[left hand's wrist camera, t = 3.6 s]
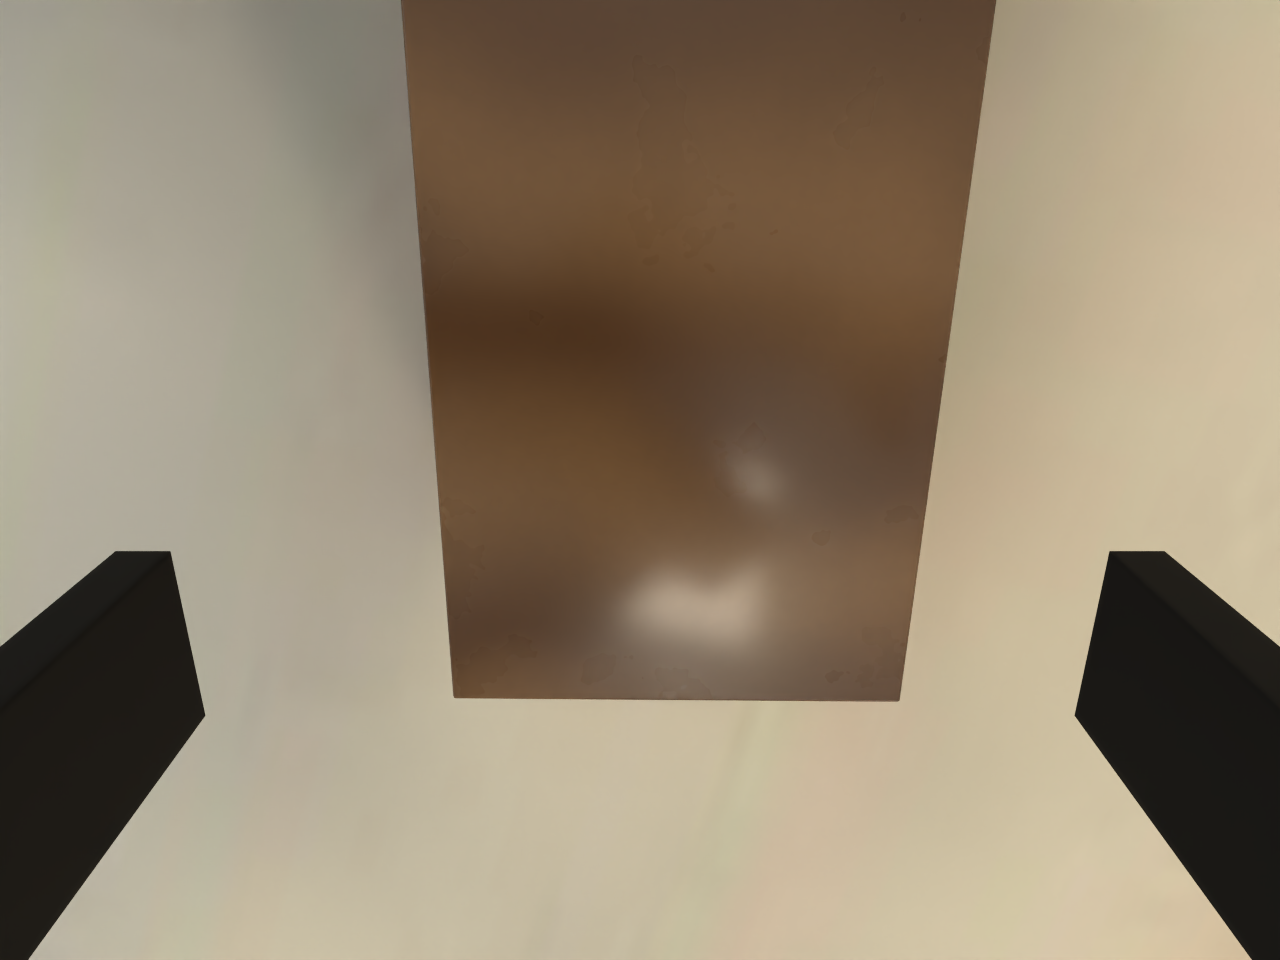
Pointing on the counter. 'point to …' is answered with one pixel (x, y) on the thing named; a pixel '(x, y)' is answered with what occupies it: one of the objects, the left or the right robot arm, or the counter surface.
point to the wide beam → (688, 333)
